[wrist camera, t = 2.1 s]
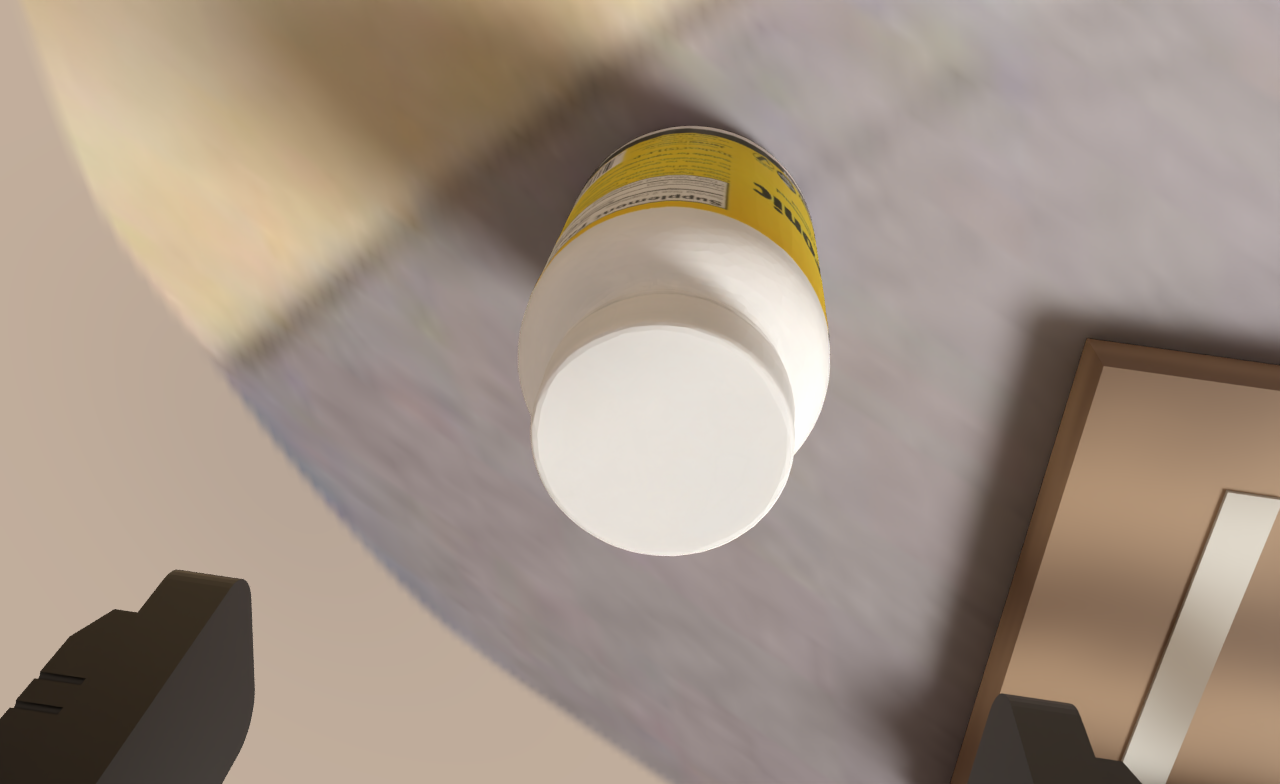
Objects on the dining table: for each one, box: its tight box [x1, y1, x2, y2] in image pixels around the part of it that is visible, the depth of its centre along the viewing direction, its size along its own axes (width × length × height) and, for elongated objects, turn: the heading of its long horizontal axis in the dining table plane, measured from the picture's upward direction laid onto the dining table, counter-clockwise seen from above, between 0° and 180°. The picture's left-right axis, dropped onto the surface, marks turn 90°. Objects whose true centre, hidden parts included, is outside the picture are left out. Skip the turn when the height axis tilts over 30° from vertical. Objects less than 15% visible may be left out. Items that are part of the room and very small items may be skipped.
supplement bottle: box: [518, 126, 830, 556], centre depth 22 cm, size 5×5×10 cm
